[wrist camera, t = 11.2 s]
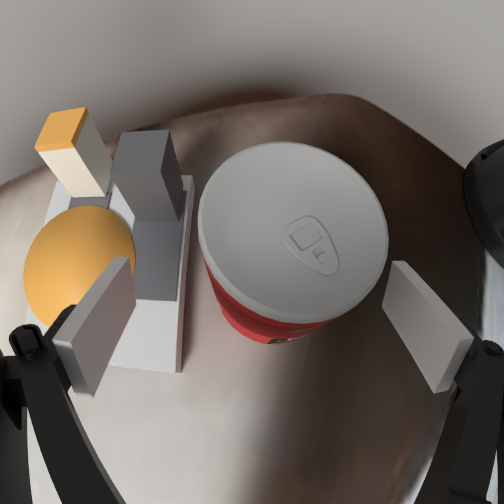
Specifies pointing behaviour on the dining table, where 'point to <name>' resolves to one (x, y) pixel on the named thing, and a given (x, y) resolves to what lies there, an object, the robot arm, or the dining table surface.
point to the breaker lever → (75, 153)
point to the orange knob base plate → (122, 249)
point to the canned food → (289, 239)
